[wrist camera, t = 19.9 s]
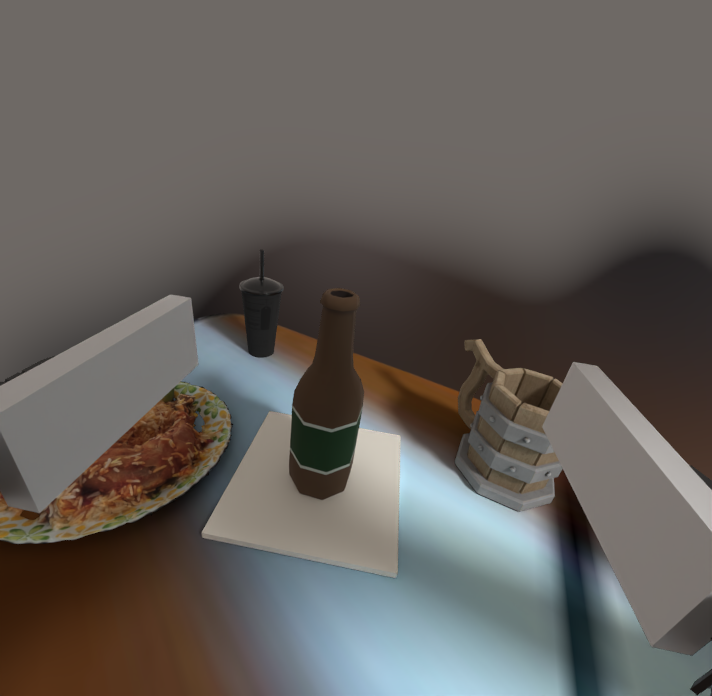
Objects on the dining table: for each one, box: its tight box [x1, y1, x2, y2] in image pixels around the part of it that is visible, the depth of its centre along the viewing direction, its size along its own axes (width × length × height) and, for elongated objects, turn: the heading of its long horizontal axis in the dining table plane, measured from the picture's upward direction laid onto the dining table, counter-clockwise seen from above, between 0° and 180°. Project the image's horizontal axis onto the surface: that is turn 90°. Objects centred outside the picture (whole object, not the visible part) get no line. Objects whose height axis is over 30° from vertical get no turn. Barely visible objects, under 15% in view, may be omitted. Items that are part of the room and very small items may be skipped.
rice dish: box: [0, 381, 233, 544], centre depth 44 cm, size 28×28×5 cm
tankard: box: [455, 339, 563, 512], centre depth 49 cm, size 20×13×15 cm, turn 20°
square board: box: [202, 411, 400, 578], centre depth 44 cm, size 20×20×1 cm
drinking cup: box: [240, 250, 283, 357], centre depth 65 cm, size 8×8×20 cm
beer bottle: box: [289, 288, 364, 500], centre depth 38 cm, size 8×8×24 cm
